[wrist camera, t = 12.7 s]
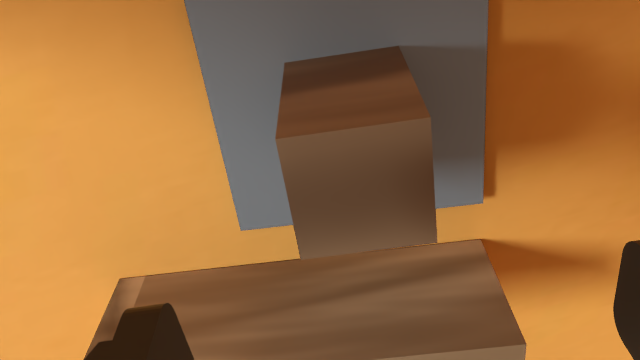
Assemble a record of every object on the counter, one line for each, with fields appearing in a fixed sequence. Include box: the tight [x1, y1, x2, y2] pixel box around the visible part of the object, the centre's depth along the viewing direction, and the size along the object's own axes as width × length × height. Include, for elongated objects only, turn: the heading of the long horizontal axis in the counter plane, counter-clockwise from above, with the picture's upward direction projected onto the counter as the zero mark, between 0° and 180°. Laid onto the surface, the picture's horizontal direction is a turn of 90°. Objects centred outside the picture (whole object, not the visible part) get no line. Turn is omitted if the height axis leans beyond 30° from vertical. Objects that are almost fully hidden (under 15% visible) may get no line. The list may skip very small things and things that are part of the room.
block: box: [275, 46, 437, 260], centre depth 18 cm, size 4×4×6 cm
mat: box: [184, 0, 488, 231], centre depth 21 cm, size 10×10×1 cm
